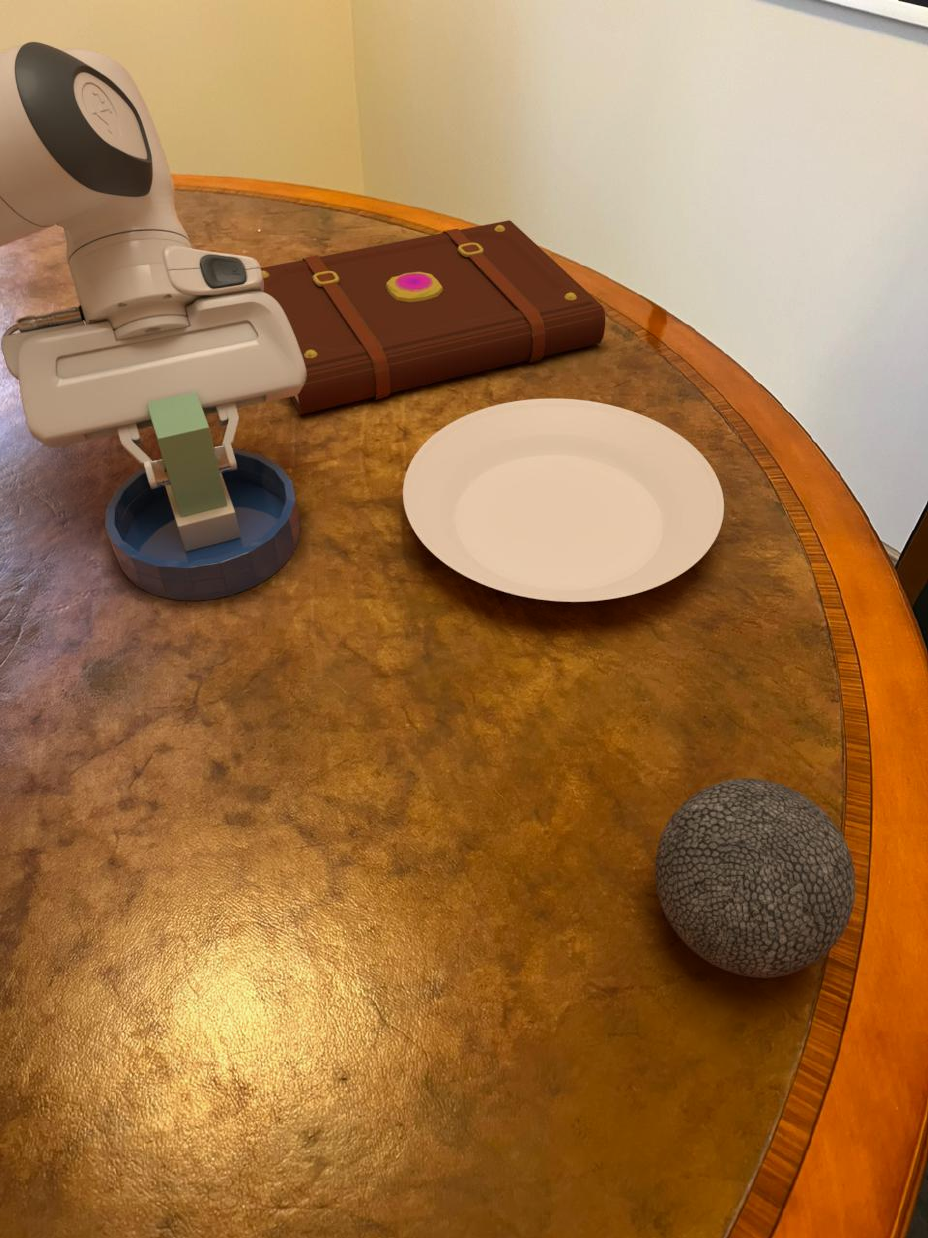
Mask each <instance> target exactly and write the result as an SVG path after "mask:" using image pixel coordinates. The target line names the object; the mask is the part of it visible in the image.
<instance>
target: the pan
mask: <svg viewBox="0 0 928 1238" xmlns="http://www.w3.org/2000/svg"><path fill="white" fill-rule="evenodd" d="M232 449H233V452H234V456H235V459H236V464H237V469H236V470H232V471H228V472H223V473H221V474H222V477H223V479H224V482H225V485H226V488H227V491H228V493H229V496H230V499H231V502H232V505H233V507H234V510H235V514H236V518H237V523H238V527H239V531H240V536H241V537H240V538H237V539H233V540H229V541H226V542H222V543H218V544H214V545H210V546H206V547H203V548H199V549H195V550H191V551H187V552H186V551H185V549H184V546H183V543H182V539H181V536H180V533H179V529H178V526H177V523H176V520H175V516H174V513H173V510H172V506H171V503H170V500H169V497H168V493H167V490H166V487H165V486H163V487H159V488H155V489H151V487H150V484H149V481H148V477H147V474H146V471H145V467H143V468H141V469H139V470H136V472H134V473H133V474H131V475H130V476H129V477H128V478H127V479H125V481H123V482H122V483H121V484H120V486H118V487H117V488H116V490H115V491H114V493H113V495H112V497H111V499H110V501H109V502H108V504H107V506H106V509H105V523H104V527H105V531H106V533H107V536H108V539H109V541H110V544H111V546H112V550H113V552H114V555H115V557H116V559H117V561H118V563H119V565H120V569H121V570H122V571H123V573H124V575H125V576H126V578H128V579H129V580H130V581H131V583H133V584H134V585H135V586H137V587H139V588H140V589H141V590H143V591H145V592H146V593H149V594H152V595H155V596H157V597H161V598H165V599H169V600H175V601H188V602H190V601H191V602H196V601H208V600H214V599H215V600H216V599H222V598H226V597H228V596H233V595H237V594H239V593H242V592H245V591H247V590H250V589H252V588H254V587H255V586H258V585H260V584H261V583H263V582H265V581H266V580H269V578H271V577H273V575H275V574H276V573H277V572H279V570H281V569H282V568H283V567H284V566H285V565H286V563H287V562H288V561H289V560H290V558H291V557H292V556H293V554H294V553H295V551H296V548H297V547H298V543H299V540H300V537H301V523H300V517H299V510H298V505H297V499H296V498H297V497H296V492H295V486H294V482H293V480H292V479H291V478H290V476H289V475H288V473H286V471H285V470H284V469H283V467H282V465H280V464H278V463H276V462H275V461H273V460H271V458H268V457H267V456H265V455H263V454H258V453H255V452H251V451H247V450H245V449H244V450H243V449H242V448H241V449H240V448H232ZM160 459H163V458H162V457H161V458H160ZM160 459H158V460H160Z"/></svg>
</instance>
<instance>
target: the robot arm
mask: <svg viewBox="0 0 928 1238" xmlns="http://www.w3.org/2000/svg"><path fill="white" fill-rule="evenodd" d="M175 190H176V189H175V183H174V180H173V177H172V173H171V170H170V167H169V163H168V160H167V157H166V154H165V150H164V147H163V144H162V142H161V139H160V136H159V134H158V131H157V128H156V126H155V123H154V121H153V118H152V116H151V113H150V111H149V109H148V106H147V104H146V102H145V99H144V98H143V96H142V94H141V92H140V90H139V87H138V86H137V84H136V82H135V80H134V79H133V77H132V75H131V73H129V71H128V70H127V69H126V68H125V67H124V65H122V64H121V63H120V62H118V61H117V60H116V59H114V58H112V57H110V56H109V55H105V54H104V53H101V52H98V51H95V50H91V49H83V48H66V49H60V48H56V47H54V46H51V45H49V44H45V43H42V42H38V41H28V42H27V43H24V44H20V45H16V46H12V47H10V48H6V49H5V50H2V51H0V248H1V247H3V246H6V245H9V244H12V243H15V242H16V241H19V240H22V239H24V238H26V237H29V236H31V235H34V234H37V233H39V232H41V231H45V230H47V229H49V228H51V227H54V226H55V225H56V226H58V227H61V228H63V231H64V235H65V238H66V260H67V265H68V269H69V272H70V275H71V278H72V282H73V285H74V289H75V292H76V295H77V299H78V302H79V306H73V307H69V308H63V309H58V310H55V311H52V312H48V313H45V314H39V315H35V314H32V315H26V316H22V317H20V318H19V317H18V318H17V319H16V324H12V325H11V326H9V328H7V329H6V330H5V332H4V333H3V335H2V337H1V342H0V348H1V349H0V350H1V352H2V355H3V359H4V362H5V365H6V368H7V370H8V372H9V373H10V375H12V376H13V378H14V379H16V380H17V381H18V384H19V391H20V398H21V404H22V408H23V409H22V410H23V412H24V417H25V422H26V425H27V428H28V431H29V433H30V434H31V436H32V437H33V438H34V439H35V440H36V441H37V442H39V443H41V444H42V445H43V446H46V447H47V448H50V449H55V448H60V447H65V446H70V445H75V444H78V443H83V442H88V441H93V440H97V439H102V438H106V437H112V436H116V435H118V437H119V440H120V443H121V445H122V448H123V449H124V450H125V451H126V452H127V453H128V454H130V456H132V458H133V459H134V460H135V461H137V462H138V464H140V466H142V467H143V468H144V467H145V471H146V474H147V477H148V481H149V484H150V487H151V489H155V488H159V487H163V486H167V485H171V484H170V480H169V477H168V473H167V471H166V467H165V464H164V460H163V459H162V458H160V460H159V459H155V460H153V459H152V458H150V457H149V456H148V454H146V453H145V452H144V450H142V449H141V448H140V447H139V446H138V445H142V443H143V440H142V436H141V433H140V430H144V429H148V428H154V427H153V424H152V421H151V417H150V414H149V410H148V407H147V403H149V402H154V401H158V400H163V399H167V398H172V397H176V396H181V395H186V394H190V393H195V392H196V393H197V395H198V398H199V401H200V403H201V406H202V409H203V412H204V414H205V416H208V415H209V416H210V415H213V414H216V415H217V419H218V423H219V426H221V427H225V426H226V428H225V432H224V437H223V441H222V445H217V446H214V450H215V455H216V459H217V463H218V468H219V472H220V473H223V472H228V471H232V470H236V469H237V464H236V459H235V456H234V452H233V449H234V448H233V445H234V442H235V437H236V433H237V430H238V426H239V420H240V416H239V412H238V409H240V408H241V409H242V408H244V407H250V406H255V405H259V404H264V403H268V402H273V401H277V400H283V399H287V398H291V397H292V396H296V395H298V394H299V393H300V391H301V389H302V388H303V386H304V384H305V381H306V378H307V371H306V367H305V363H304V360H303V357H302V354H301V351H300V348H299V345H298V342H297V340H296V337H295V335H294V332H293V330H292V327H291V325H290V323H289V321H288V319H287V316H286V314H285V312H284V311H283V309H282V307H281V306H280V304H279V303H278V302H277V301H276V300H275V299H274V298H273V297H272V296H270V295H269V294H267V293H264V280H263V275H262V271H261V268H262V267H261V265H260V263H259V262H258V260H257V259H256V258H254V257H251V256H247V255H240V254H232V253H225V252H216V251H210V250H204V249H199V248H193V246H192V244H191V240H190V238H189V235H188V233H187V232H186V230H185V228H184V226H183V225H182V223H181V222H180V219H179V217H178V214H177V209H176V204H175V203H176V191H175ZM18 331H19V332H18ZM15 332H18V333H15Z"/></svg>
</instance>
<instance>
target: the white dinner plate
mask: <svg viewBox="0 0 928 1238" xmlns="http://www.w3.org/2000/svg"><path fill="white" fill-rule="evenodd" d="M402 487H403V488H402V497H403V498H402V501H403V505H404V506H403V508H404V511H405V514H406V517H407V520H408V522H409V524H410V527H411V528H412V530H413V531H414V533H415V534H416V536H417V537H418V539H419V540H420V541H421V543H422V544H423V545H424V546H425V547H426V549H427V550H429V551H430V552H431V553H432V554H433V555H434V556H435V557H436V558H437V559H439V560H440V561H441V562H442V563H444V564H445V565H446V566H448V567H449V568H450V569H453V570H454V571H455V572H456V573H459V574H460V575H462V576H464V577H466V578H468V579H470V580H472V581H475V582H476V583H479V584H481V585H484V586H486V587H488V588H492V589H494V590H497V591H500V592H504V593H507V594H511V595H513V596H519V597H523V598H528V599H535V600H543V601H550V602H563V603H565V602H566V603H567V602H570V603H578V602H579V603H581V602H582V603H583V602H584V603H585V602H598V601H605V600H613V599H619V598H623V597H628V596H632V595H636V594H639V593H643V592H646V591H649V590H652V589H655V588H657V587H660V586H662V585H664V584H666V583H668V582H670V581H672V580H673V579H676V578H677V577H679V576H680V575H682V574H684V573H685V572H687V571H688V570H689V569H691V568H692V567H693V566H694V565H695V564H697V563H698V562H699V561H700V560H701V559H702V558H703V557H704V556H705V555H706V554H707V552H708V551H709V550H710V548H711V547H712V546H713V544H714V543H715V541H716V539H717V537H718V535H719V533H720V530H721V527H722V523H723V521H724V512H725V500H724V494H723V489H722V487H721V483H720V481H719V478H718V477H717V474H716V472H715V471H714V469H713V467H712V466H711V464H710V463H709V461H708V460H707V459H706V457H704V455H703V454H702V452H700V451H699V450H698V449H697V448H696V447H695V446H694V445H693V444H692V443H690V441H688V440H687V439H686V438H685V437H683V436H681V434H679V433H677V432H676V431H674V430H673V429H672V428H670V427H667V426H666V425H665V424H662V423H661V422H658V421H656V420H654V419H653V418H650V417H648V416H645V415H643V414H640V413H638V412H635V411H632V410H629V409H626V408H622V407H619V406H615V405H611V404H607V403H602V402H597V401H591V400H584V399H575V398H574V399H573V398H550V397H549V398H531V399H530V398H529V399H522V400H515V401H509V402H504V403H499V404H495V405H492V406H488V407H485V408H481V409H479V410H476V411H474V412H471V413H468V414H466V415H464V416H461V417H459V418H457V419H456V420H454V421H452V422H450V423H449V424H447V425H445V426H444V427H442V428H441V429H439V430H437V432H435V434H433V435H432V436H431V437H430V438H429V439H427V440H426V441H425V442H424V444H423V445H422V446H420V448H419V449H418V450H417V452H416V453H415V454H414V456H413V458H412V460H411V461H410V463H409V465H408V468H407V470H406V473H405V476H404V480H403V485H402Z"/></svg>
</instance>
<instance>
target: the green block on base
mask: <svg viewBox="0 0 928 1238" xmlns="http://www.w3.org/2000/svg"><path fill="white" fill-rule="evenodd" d="M147 407H148V410H149V414H150V417H151V421H152V424H153V427H152V428H153V430H154V434H155V437H156V441H157V444H158V447H159V451H160V455H161V459H162V458H163V460H164V464H165V467H166V471H167V473H168V477H169V480H170V484H171V485H167V486H165V487H166V490H167V493H168V497H169V500H170V503H171V506H172V510H173V513H174V516H175V520H176V523H177V526H178V529H179V533H180V536H181V539H182V543H183V546H184V549H185V551H186V552H187V551H191V550H195V549H199V548H203V547H206V546H210V545H214V544H218V543H222V542H226V541H229V540H233V539H237V538H240V537H241V536H240V531H239V527H238V523H237V518H236V514H235V510H234V507H233V505H232V502H231V499H230V496H229V493H228V491H227V488H226V485H225V482H224V479H223V477H222V474H221V473H220V472H219V468H218V463H217V459H216V455H215V450H214V447H215V446H214V442H213V438H212V434H211V430H210V429H211V428H210V426H209V423H208V420H207V418H206V415H205V414H204V412H203V409H202V406H201V403H200V401H199V398H198V395H197V393H196V392H195V393H190V394H186V395H181V396H176V397H172V398H167V399H163V400H158V401H154V402H149V403H147Z"/></svg>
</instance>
